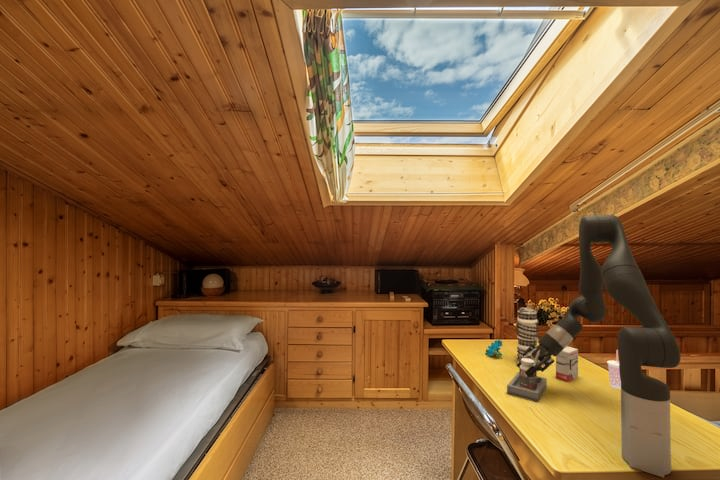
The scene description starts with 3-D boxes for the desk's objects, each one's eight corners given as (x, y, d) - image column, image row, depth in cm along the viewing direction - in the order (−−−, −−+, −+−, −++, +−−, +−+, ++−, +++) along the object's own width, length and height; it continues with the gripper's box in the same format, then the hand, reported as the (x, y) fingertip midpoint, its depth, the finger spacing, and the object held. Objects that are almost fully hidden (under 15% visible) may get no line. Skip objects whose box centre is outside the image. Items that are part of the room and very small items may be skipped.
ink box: (568, 382, 127) (568, 352, 128) (555, 378, 132) (555, 348, 132) (578, 377, 132) (578, 348, 132) (565, 373, 136) (565, 345, 136)
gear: (483, 348, 165) (498, 335, 162) (491, 356, 164) (507, 344, 162) (486, 358, 154) (502, 345, 151) (495, 367, 154) (512, 354, 151)
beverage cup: (623, 384, 125) (623, 348, 125) (631, 391, 119) (630, 353, 120) (604, 382, 127) (604, 346, 127) (610, 389, 122) (610, 351, 122)
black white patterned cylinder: (527, 359, 153) (527, 305, 154) (544, 366, 144) (543, 309, 145) (511, 361, 150) (511, 307, 151) (527, 368, 142) (527, 311, 142)
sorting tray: (538, 402, 112) (538, 393, 112) (507, 393, 118) (507, 385, 118) (546, 386, 124) (546, 378, 124) (518, 379, 130) (518, 371, 130)
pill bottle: (531, 391, 117) (531, 364, 117) (516, 386, 122) (516, 359, 122) (539, 387, 121) (539, 360, 121) (524, 382, 125) (524, 356, 125)
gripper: (538, 327, 128) (507, 357, 129) (558, 338, 114) (523, 371, 114) (552, 341, 128) (521, 371, 128) (574, 354, 113) (539, 387, 114)
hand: (522, 371), depth 121 cm, fingers open, 6 cm apart
